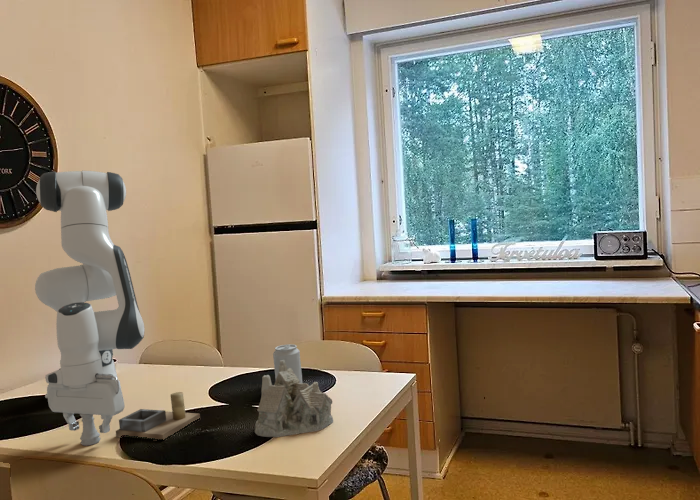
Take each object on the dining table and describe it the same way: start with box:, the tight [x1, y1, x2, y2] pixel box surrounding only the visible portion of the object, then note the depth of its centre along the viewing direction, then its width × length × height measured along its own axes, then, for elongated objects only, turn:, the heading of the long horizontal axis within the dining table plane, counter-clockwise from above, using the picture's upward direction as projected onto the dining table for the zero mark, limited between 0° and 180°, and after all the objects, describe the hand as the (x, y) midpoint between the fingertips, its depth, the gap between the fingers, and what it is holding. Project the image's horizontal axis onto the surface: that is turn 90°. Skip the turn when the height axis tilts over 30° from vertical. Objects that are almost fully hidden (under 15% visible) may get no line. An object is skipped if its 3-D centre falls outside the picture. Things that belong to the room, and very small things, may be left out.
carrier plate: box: [115, 391, 201, 440], centre depth 151 cm, size 14×14×8 cm
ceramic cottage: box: [254, 360, 334, 438], centre depth 145 cm, size 16×16×15 cm
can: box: [272, 343, 303, 383], centre depth 176 cm, size 8×8×12 cm
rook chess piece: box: [79, 414, 102, 447], centre depth 146 cm, size 4×4×8 cm
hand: (89, 431), depth 146 cm, fingers open, 8 cm apart
